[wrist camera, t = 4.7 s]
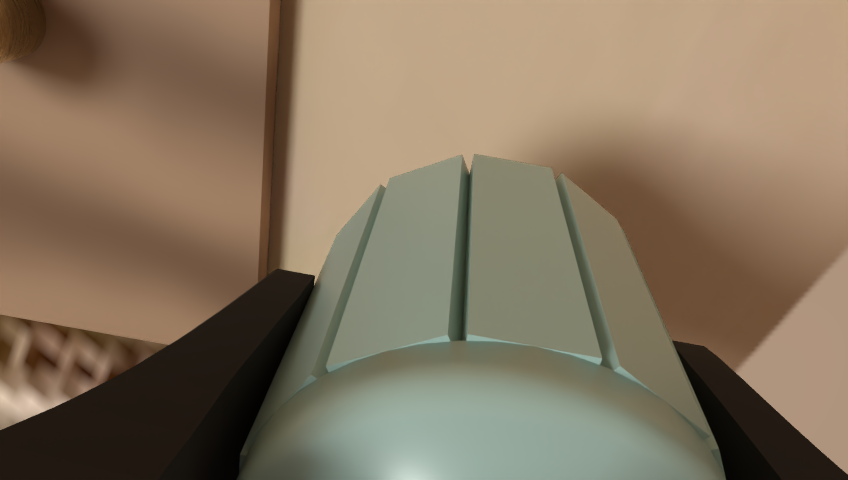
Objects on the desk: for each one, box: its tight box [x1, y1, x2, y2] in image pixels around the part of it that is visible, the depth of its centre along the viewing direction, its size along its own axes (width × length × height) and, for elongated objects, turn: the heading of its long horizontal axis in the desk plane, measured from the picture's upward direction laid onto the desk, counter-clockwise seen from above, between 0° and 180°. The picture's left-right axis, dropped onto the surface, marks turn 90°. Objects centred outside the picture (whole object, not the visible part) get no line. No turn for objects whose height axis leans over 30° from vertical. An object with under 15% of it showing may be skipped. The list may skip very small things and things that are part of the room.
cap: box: [236, 154, 726, 480], centre depth 9 cm, size 6×6×6 cm
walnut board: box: [0, 0, 281, 345], centre depth 17 cm, size 20×14×1 cm
